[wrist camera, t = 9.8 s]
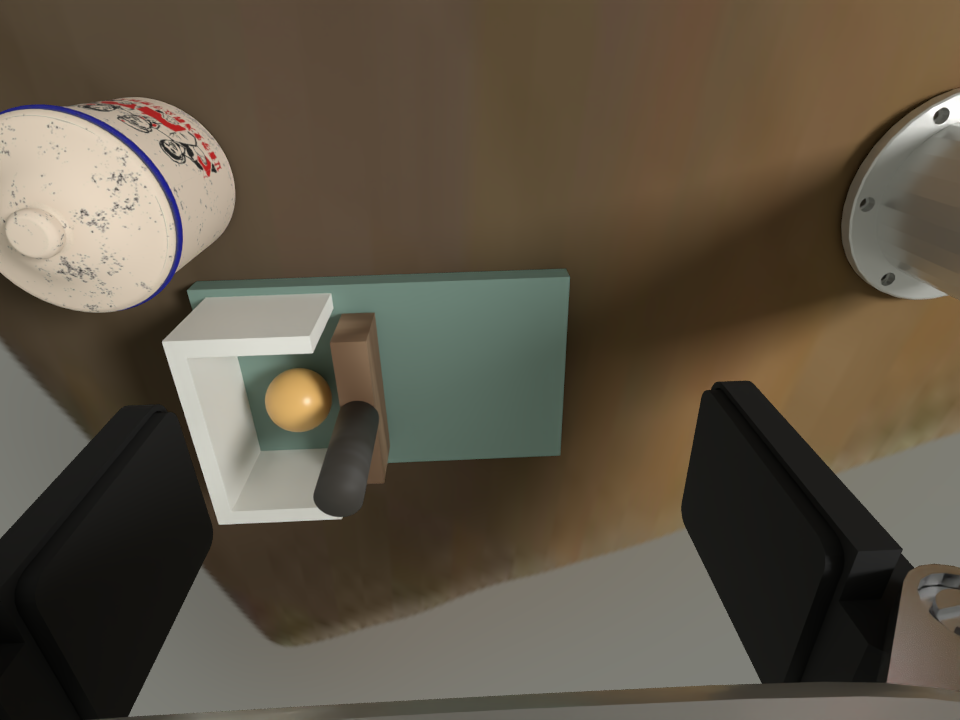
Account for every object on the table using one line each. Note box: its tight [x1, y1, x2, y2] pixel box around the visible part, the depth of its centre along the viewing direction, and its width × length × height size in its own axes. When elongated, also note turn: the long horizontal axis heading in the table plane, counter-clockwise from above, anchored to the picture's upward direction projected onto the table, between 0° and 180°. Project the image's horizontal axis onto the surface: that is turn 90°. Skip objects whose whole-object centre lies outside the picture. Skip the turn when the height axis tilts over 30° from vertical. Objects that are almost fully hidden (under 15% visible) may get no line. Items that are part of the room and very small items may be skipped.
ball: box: [265, 368, 332, 432], centre depth 36 cm, size 4×4×4 cm
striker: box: [313, 312, 390, 517], centre depth 33 cm, size 2×10×11 cm, turn 1°
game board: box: [162, 269, 570, 525], centre depth 36 cm, size 23×14×8 cm, turn 91°
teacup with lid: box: [0, 97, 235, 313], centre depth 28 cm, size 12×9×12 cm
